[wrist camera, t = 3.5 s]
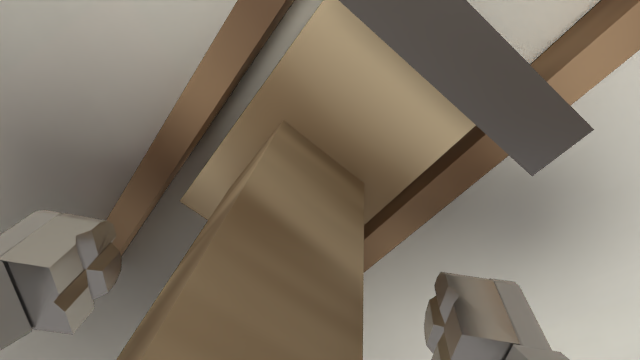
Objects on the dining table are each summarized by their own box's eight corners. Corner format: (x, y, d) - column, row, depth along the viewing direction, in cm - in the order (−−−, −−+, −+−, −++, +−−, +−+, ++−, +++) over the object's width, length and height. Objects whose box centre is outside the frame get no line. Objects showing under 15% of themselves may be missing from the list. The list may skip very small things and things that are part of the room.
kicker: (308, 246, 15) (224, 631, 6) (203, 173, 14) (-87, 515, 5) (497, 66, 11) (1072, 443, 2) (370, -59, 10) (416, -444, 1)
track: (253, 341, 18) (245, 368, 17) (98, 248, 17) (75, 271, 15) (973, -275, 7) (1110, -331, 6) (744, -800, 5) (873, -1065, 4)
